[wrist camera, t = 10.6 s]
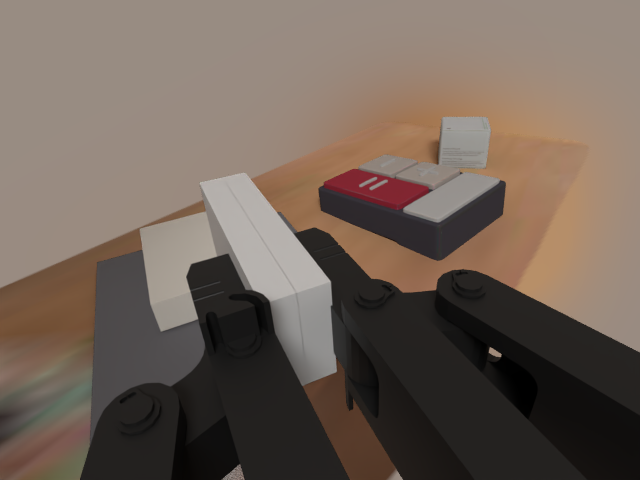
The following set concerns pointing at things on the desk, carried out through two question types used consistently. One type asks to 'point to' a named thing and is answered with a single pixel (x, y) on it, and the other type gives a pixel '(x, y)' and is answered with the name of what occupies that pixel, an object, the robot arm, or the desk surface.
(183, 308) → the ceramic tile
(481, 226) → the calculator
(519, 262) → the desk surface
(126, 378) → the tile mat
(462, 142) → the small box
